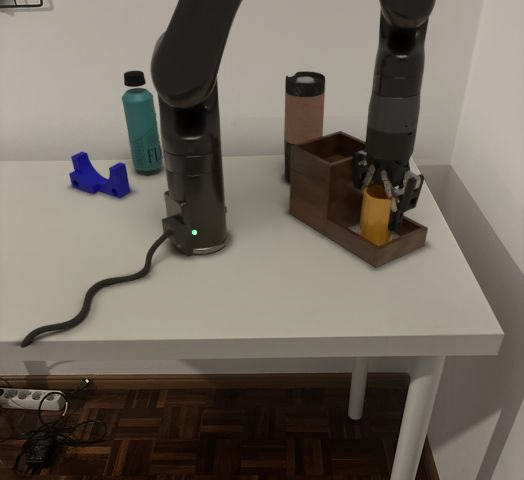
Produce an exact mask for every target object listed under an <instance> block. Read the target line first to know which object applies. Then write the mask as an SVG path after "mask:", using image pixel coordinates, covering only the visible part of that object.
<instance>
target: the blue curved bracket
mask: <svg viewBox="0 0 524 480" xmlns="http://www.w3.org/2000/svg"><path fill="white" fill-rule="evenodd" d="M70 158H71V162H72V166H73V171H71V172H69V173H68V175H69V178H70V179H69V180H70V182H71V187H72V188H73V189H76V190H80V191H81V192H82V191H83V192H86V193H89V194H91V195H94V194H97V193H98V192H100V193H103V194H106V195H109V196H111V197H112V196H113V197H115V198H118V199H121V198H123V197H125V196H127V195H128V194H130V193H131V186H130V181H129V176H128V170H127V166H126V165H127V164H126V163H124V162H121V161H119V162H117V163H116V164H114V165H112V166H110V167H108V170H109V171H108V172H109V176H108V178H106V177H104V176H103V175H101V174H100V173H99V172H98V171H97V170H96V168H95V167H94V165H93V164H92V162H91V160H90V158H89V155H88V152H87V151H86V152H85V151H80V152H77V153H76V154H73V155H71V156H70Z"/></svg>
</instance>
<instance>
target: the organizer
mask: <svg viewBox="0 0 524 480" xmlns="http://www.w3.org/2000/svg"><path fill="white" fill-rule="evenodd" d="M365 142H366V141H364V140H363V139H360V138H357V137H355V136H353V135H351V134H348V133H346V132H344V131H342V130H339V131H336V132H335V131H334V132H332V133H330V134H325V135H323V136H322V137H319V138H315V139H312V140H309V141H306V142H302V143H299V144H296V145H292V146H291V161H290V184H289V214H290V215H291V216H293V217H294V218H296V219H298V220H299V221H301V222H302V223H304V224H305V225H307V226H309V228H312V229H313V230H315V231H317V232H318V233H320V234H322V235H323V236H325V237H327V238H328V239H329V240H331V241H332V242H334V243H336V244H338V245H339V246H341V247H342V248H344V249H346V250H347V251H349V252H351V254H353V255H355V256H357V257H358V258H360V259H362V260H363V261H365V262H366V263H368V264H369V265H371V266H373V267H374V268H376V269H377V268H379V267H382V266H383V265H386V264H388V263H390V262H392V261H394V260H396V259H399V258H400V257H402V256H406V255H408V254H410V253H412V252H414V251H416V250H418V249H421V248H422V247H424V246H425V244H426V240H427V237H428V230H429V227H427V226H426V225H423V224H421V223H420V222H418V221H416V220H414V219H413V218H410V217H408V216H406V215H403V221H402V226H401V227H399V229H397V230H394V231H393V233H395V234H397V235H399V237H397V238H396V237H395V238H394V239H392V241H389V242H387V243H385V244H383V245H380V246H378V245H376V244H374V243H373V242H371V241H369V240H367V239H366V238H364V237H362V236H361V235H359V234H358V232H356V231H354V230H352V228H351V229H350V228H349V227H351V226H354V225H356V224H358V223H359V224H360V218H361V198H362V195H361V194H360V190H359V189H358V188H354V186H353V153H356V152H359V151H362V150H365ZM360 179H362V173H361V174H360Z"/></svg>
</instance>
